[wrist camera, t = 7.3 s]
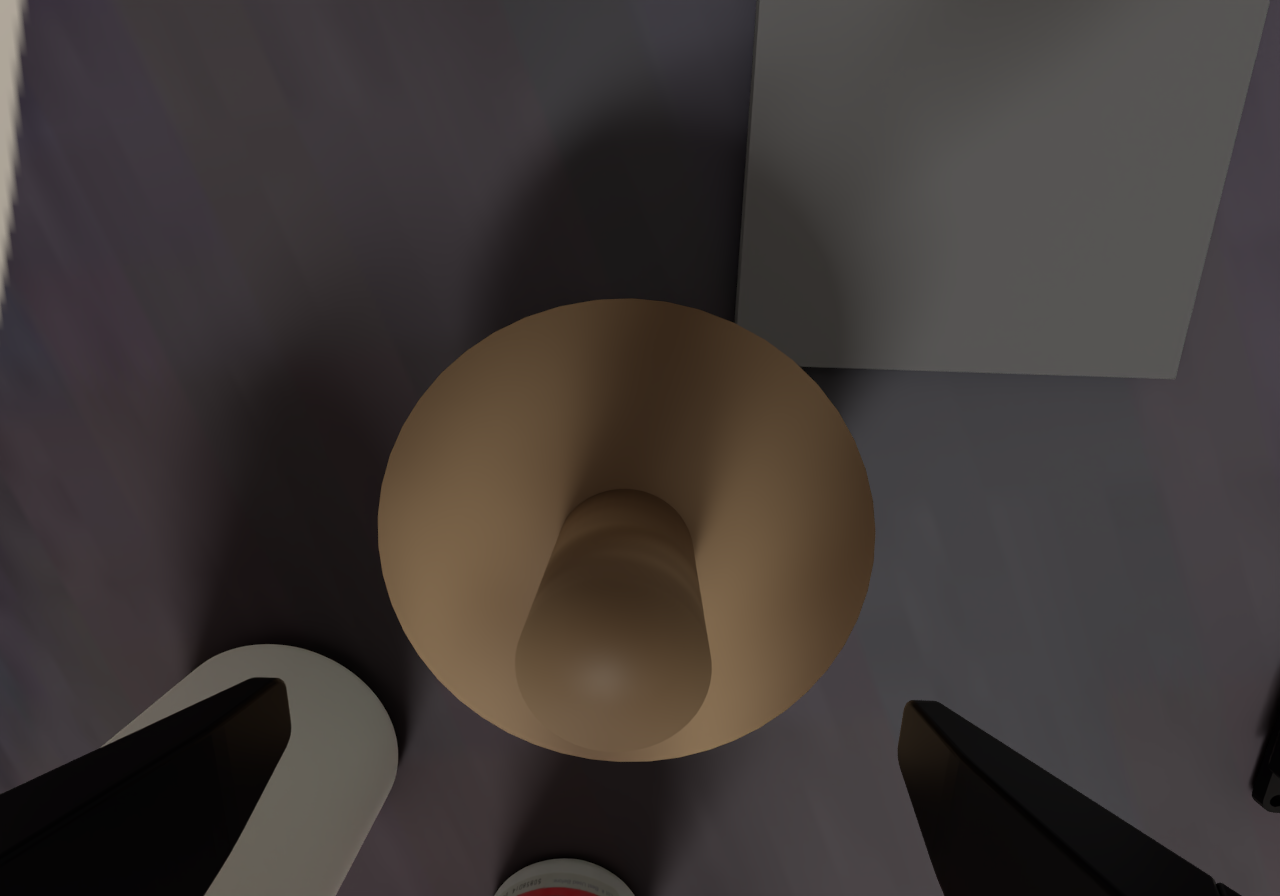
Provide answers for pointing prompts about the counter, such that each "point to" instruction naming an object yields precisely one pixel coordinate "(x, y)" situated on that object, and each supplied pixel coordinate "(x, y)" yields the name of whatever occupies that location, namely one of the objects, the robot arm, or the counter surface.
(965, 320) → the mat
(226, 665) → the beverage can
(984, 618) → the counter surface
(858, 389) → the counter surface
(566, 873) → the pill bottle
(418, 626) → the lid
